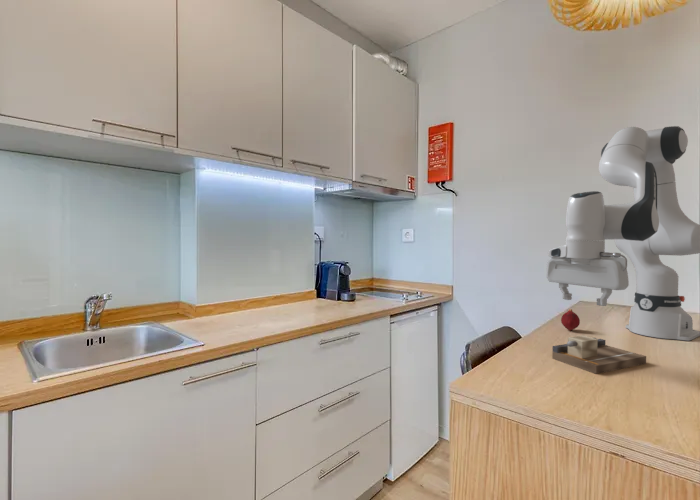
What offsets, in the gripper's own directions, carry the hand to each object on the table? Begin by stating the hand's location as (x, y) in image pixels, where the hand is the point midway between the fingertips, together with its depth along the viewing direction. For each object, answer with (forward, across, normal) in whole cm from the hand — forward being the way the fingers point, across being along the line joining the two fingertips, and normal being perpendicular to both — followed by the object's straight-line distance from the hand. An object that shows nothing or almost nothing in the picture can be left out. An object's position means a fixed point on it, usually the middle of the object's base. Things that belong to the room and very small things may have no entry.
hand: (583, 302), depth 94 cm
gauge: (+14, 0, 0) cm, 14 cm away
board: (+16, -1, -5) cm, 17 cm away
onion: (+17, +24, -28) cm, 40 cm away
